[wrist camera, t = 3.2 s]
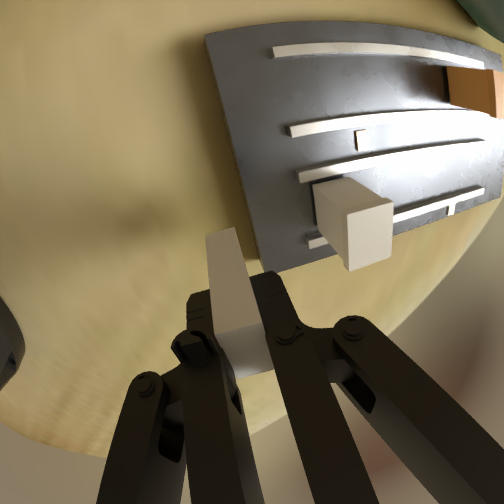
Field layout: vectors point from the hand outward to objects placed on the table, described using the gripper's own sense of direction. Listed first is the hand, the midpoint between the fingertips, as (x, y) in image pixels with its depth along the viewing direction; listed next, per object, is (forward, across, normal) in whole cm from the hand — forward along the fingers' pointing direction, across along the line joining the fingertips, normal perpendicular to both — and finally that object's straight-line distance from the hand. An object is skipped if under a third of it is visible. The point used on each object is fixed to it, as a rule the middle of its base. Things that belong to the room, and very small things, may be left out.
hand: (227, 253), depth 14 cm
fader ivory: (+2, +7, 0) cm, 7 cm away
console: (+4, +15, +4) cm, 16 cm away
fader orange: (+2, +19, +7) cm, 20 cm away
